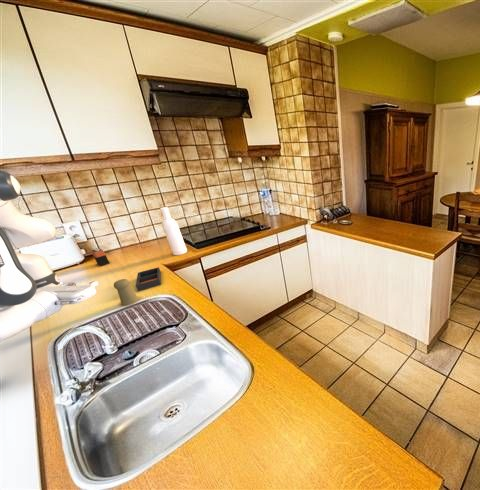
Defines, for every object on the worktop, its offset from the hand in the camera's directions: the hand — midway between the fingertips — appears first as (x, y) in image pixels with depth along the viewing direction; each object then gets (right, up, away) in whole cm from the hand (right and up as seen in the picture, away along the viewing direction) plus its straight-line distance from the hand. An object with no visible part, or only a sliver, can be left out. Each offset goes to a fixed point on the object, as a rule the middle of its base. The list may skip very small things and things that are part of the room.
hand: (85, 283), depth 102 cm
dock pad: (-4, -4, +35) cm, 36 cm away
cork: (+1, -11, +18) cm, 21 cm away
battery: (-52, +3, +59) cm, 79 cm away
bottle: (-12, +10, +69) cm, 70 cm away
